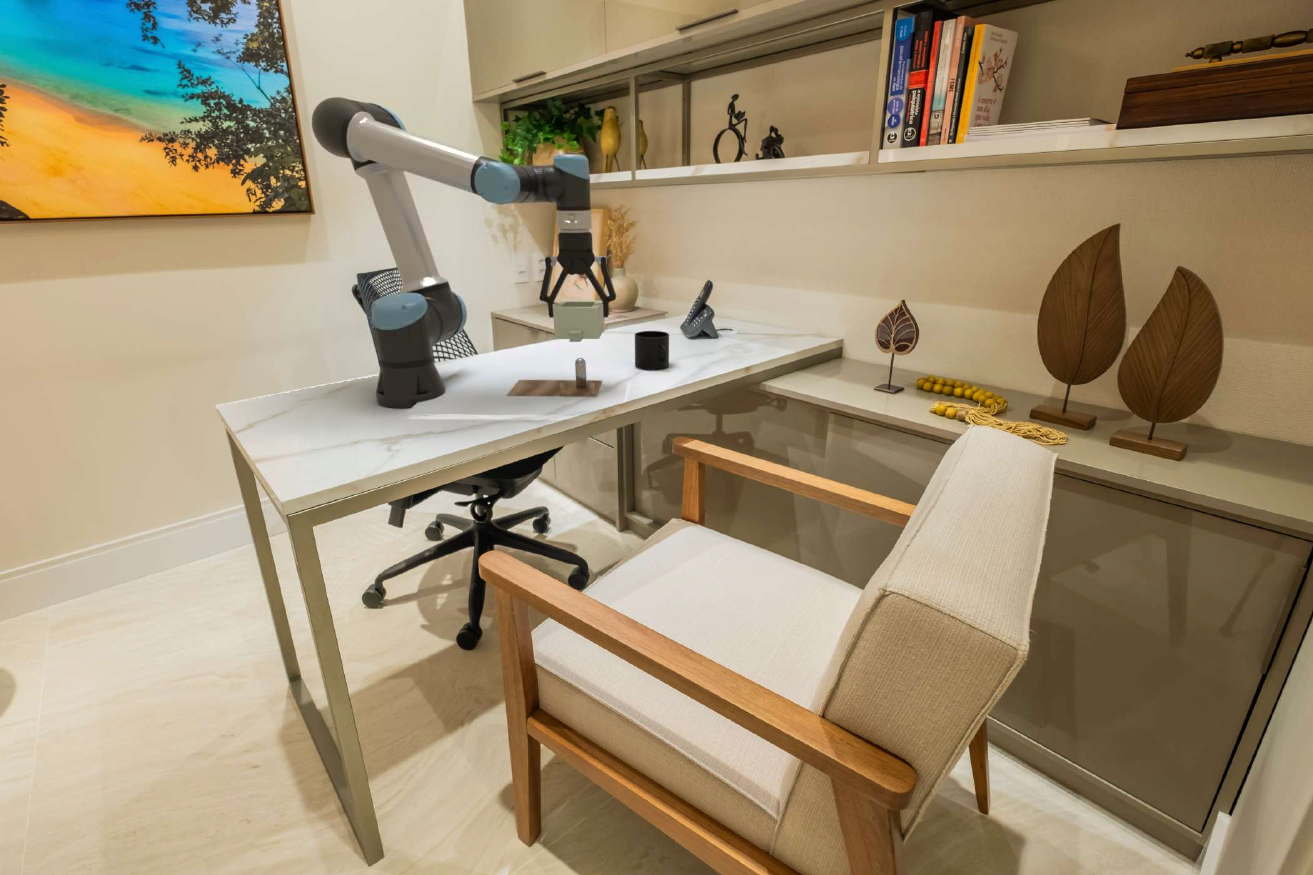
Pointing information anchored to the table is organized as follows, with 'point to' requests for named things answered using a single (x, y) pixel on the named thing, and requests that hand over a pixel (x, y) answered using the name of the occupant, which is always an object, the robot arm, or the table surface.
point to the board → (555, 388)
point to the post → (580, 373)
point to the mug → (651, 350)
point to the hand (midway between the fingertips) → (579, 331)
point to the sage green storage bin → (577, 320)
